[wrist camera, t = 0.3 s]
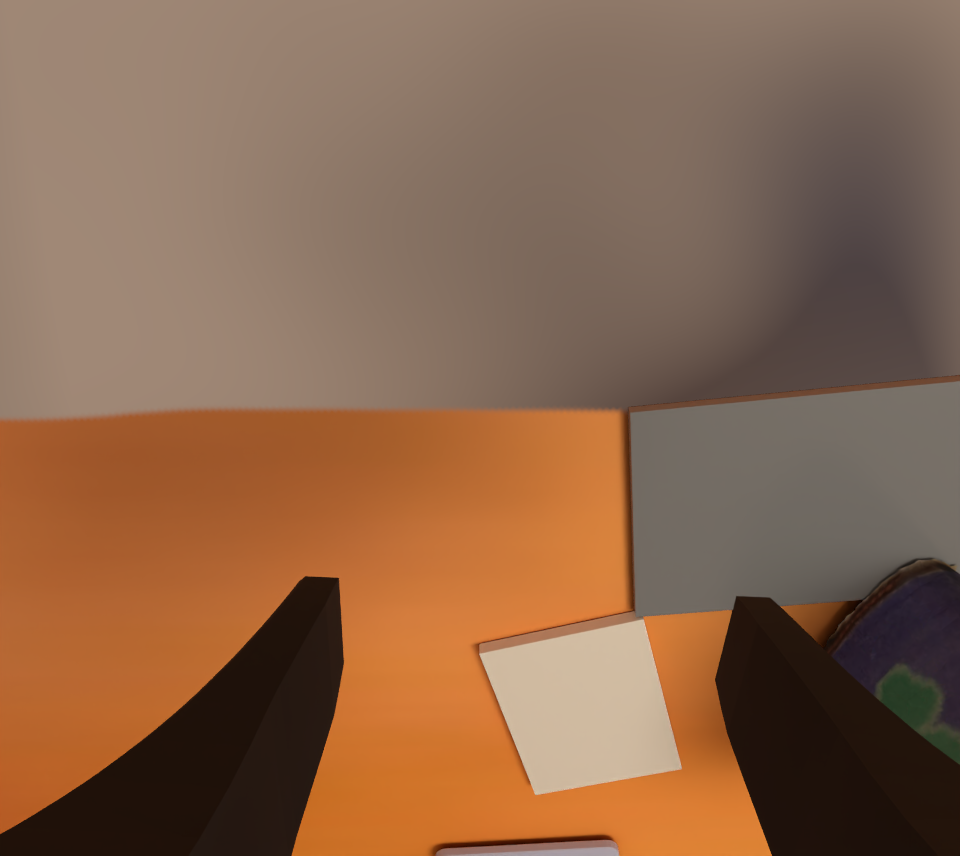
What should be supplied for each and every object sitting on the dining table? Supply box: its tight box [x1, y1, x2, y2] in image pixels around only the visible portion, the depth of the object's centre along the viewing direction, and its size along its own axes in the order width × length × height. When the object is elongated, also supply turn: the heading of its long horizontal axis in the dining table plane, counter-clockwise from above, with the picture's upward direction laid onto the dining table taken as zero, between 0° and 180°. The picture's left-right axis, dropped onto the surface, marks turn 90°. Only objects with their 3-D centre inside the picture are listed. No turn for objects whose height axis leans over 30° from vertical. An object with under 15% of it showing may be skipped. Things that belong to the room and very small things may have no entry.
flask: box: [824, 559, 960, 765], centre depth 21 cm, size 9×3×11 cm, turn 160°
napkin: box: [479, 611, 682, 795], centre depth 28 cm, size 8×6×1 cm
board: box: [628, 375, 960, 617], centre depth 23 cm, size 8×14×1 cm, turn 97°
